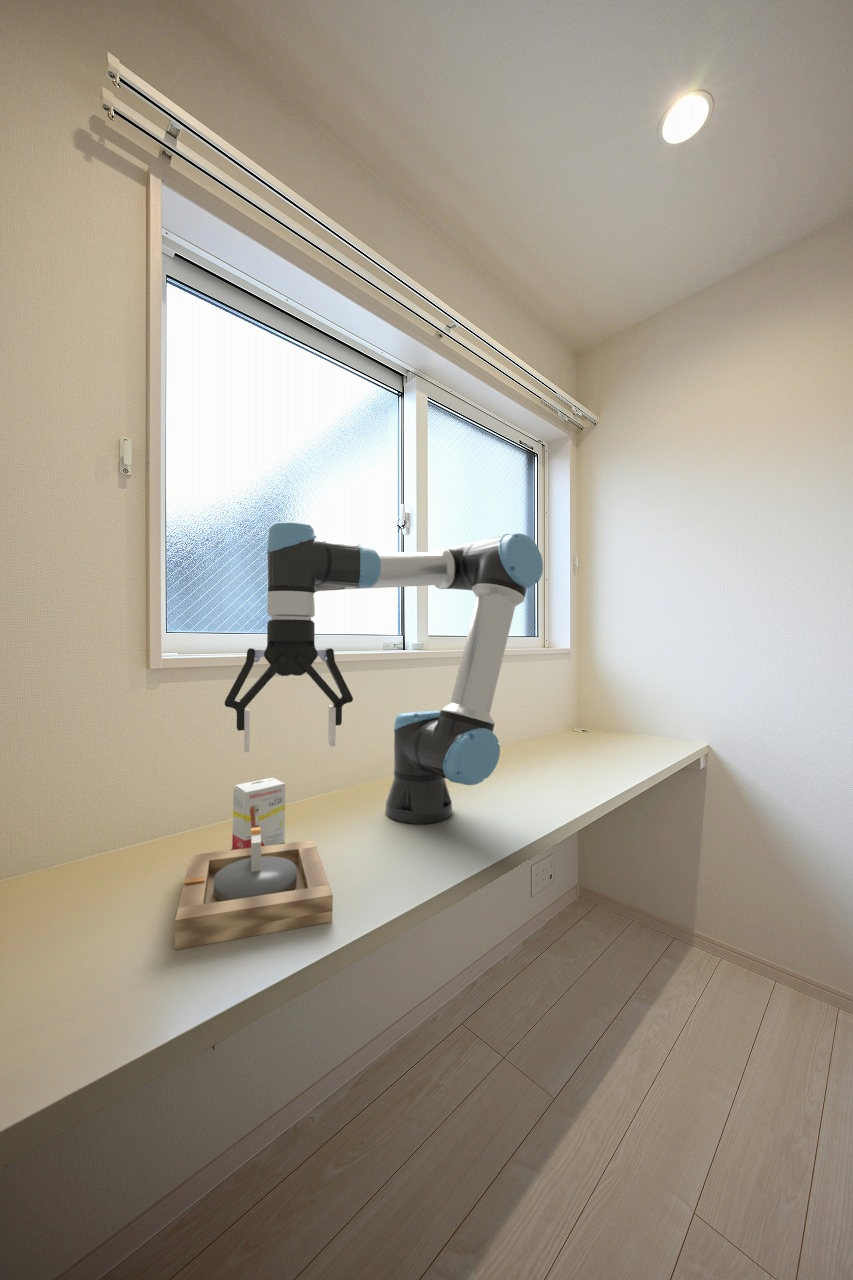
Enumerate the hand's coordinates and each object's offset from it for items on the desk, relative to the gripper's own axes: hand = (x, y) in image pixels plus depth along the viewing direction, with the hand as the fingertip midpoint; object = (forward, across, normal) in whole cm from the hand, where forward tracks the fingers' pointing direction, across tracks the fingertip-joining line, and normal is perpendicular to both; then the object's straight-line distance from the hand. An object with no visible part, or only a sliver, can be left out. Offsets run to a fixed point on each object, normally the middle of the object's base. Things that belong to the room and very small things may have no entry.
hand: (290, 747), depth 83 cm
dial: (+20, +5, +5) cm, 21 cm away
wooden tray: (+22, +5, +5) cm, 23 cm away
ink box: (+22, +4, -15) cm, 27 cm away
